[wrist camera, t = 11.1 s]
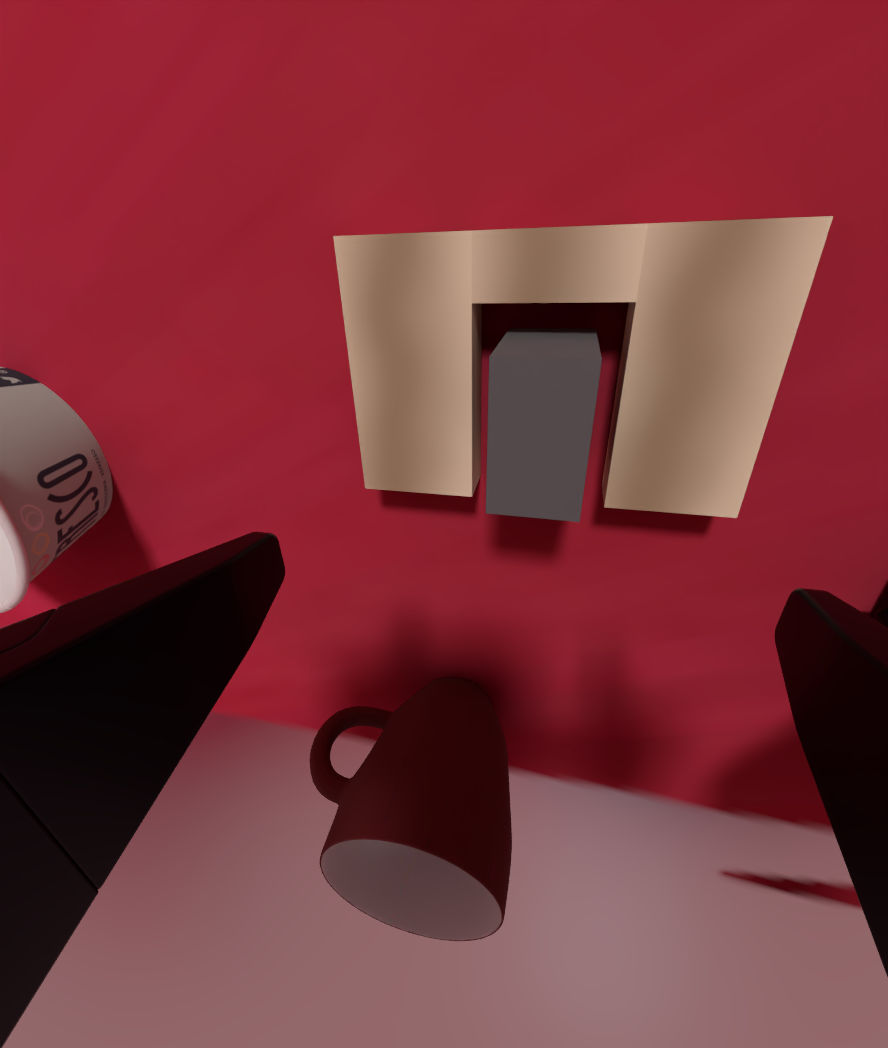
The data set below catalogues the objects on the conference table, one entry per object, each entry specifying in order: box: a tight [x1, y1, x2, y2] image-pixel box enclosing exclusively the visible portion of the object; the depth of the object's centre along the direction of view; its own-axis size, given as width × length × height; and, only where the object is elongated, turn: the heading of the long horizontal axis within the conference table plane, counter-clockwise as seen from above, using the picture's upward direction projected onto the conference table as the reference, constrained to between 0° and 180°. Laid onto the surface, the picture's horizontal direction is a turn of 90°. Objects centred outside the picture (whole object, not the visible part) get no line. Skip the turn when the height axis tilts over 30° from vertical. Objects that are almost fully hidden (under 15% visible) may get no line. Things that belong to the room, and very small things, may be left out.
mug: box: [310, 677, 512, 941], centre depth 24 cm, size 10×8×10 cm
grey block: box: [486, 328, 602, 522], centre depth 16 cm, size 3×5×5 cm, turn 1°
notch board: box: [333, 216, 833, 518], centre depth 17 cm, size 14×9×2 cm, turn 92°
